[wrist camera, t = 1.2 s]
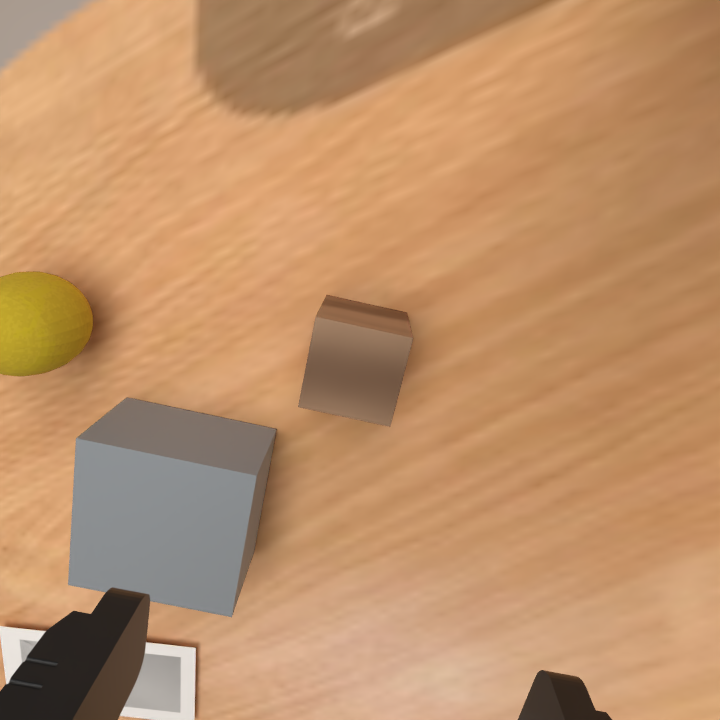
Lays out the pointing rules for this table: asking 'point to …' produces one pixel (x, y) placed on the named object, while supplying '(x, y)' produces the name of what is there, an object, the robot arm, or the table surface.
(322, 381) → the walnut block
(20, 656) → the touchpad
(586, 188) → the table surface
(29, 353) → the lemon
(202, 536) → the base block
